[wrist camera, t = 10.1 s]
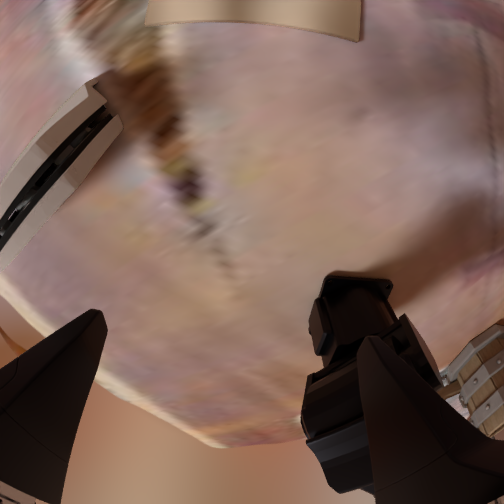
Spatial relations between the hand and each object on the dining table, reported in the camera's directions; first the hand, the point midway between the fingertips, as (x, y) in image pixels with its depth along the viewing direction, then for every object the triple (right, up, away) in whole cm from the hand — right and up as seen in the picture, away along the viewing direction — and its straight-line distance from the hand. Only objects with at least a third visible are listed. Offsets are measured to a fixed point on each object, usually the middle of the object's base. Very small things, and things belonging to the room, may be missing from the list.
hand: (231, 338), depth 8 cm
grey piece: (-16, +9, +9) cm, 21 cm away
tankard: (+33, -15, +22) cm, 42 cm away
